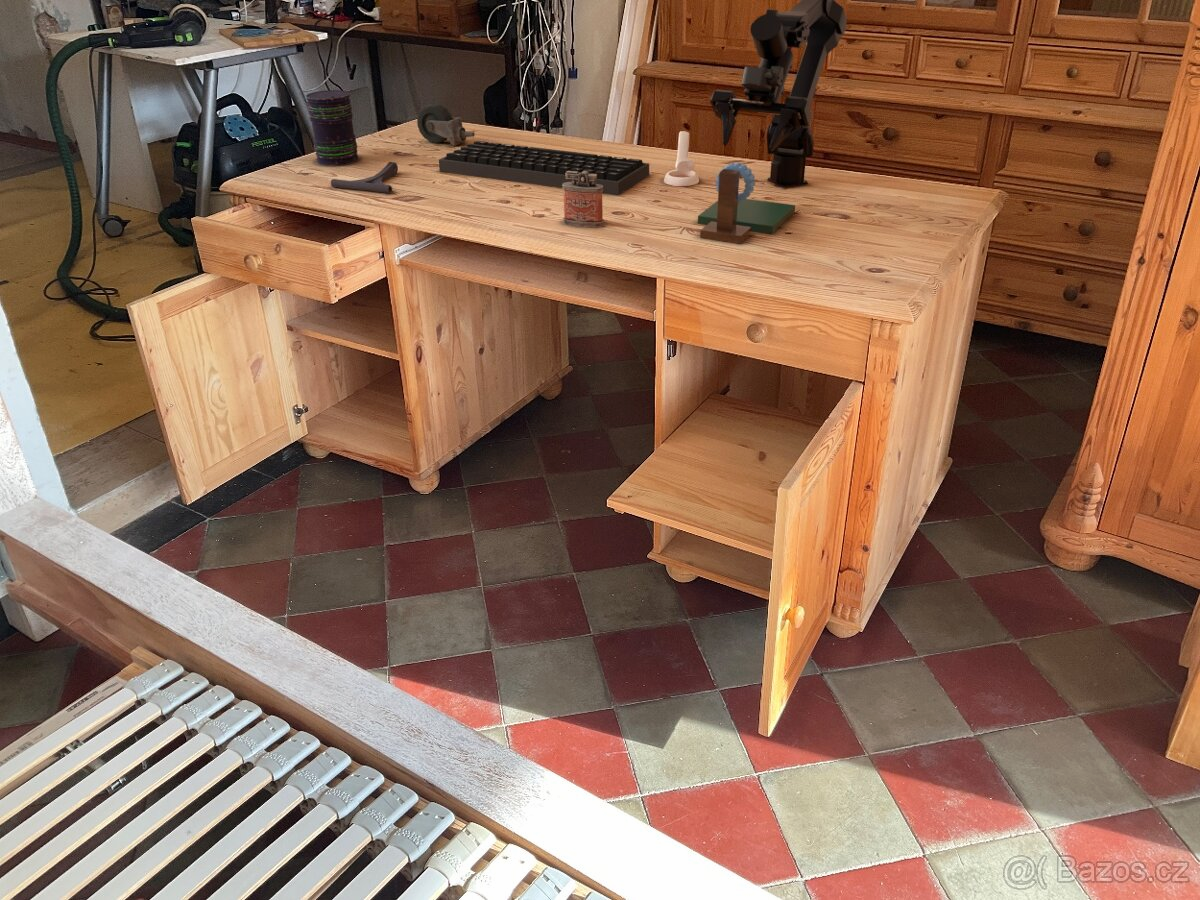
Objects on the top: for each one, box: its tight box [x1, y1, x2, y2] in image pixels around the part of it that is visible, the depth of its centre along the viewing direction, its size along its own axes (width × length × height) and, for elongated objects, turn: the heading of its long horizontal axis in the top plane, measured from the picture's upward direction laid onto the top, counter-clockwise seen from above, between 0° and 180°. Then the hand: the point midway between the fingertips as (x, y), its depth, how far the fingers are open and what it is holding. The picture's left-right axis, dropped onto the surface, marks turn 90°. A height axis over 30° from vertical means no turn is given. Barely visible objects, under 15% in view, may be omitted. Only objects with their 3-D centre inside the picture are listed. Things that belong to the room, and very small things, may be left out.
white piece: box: [663, 130, 700, 187], centre depth 212 cm, size 8×12×7 cm
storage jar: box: [305, 89, 359, 167], centre depth 227 cm, size 10×10×15 cm
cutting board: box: [697, 198, 796, 235], centre depth 190 cm, size 14×15×2 cm
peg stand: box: [699, 168, 752, 245], centre depth 180 cm, size 10×8×12 cm
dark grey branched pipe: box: [330, 161, 399, 194], centre depth 214 cm, size 14×15×3 cm
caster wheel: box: [416, 103, 476, 147], centre depth 240 cm, size 6×10×15 cm
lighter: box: [561, 171, 605, 228], centre depth 186 cm, size 8×3×10 cm, turn 71°
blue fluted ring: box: [714, 162, 756, 203], centre depth 179 cm, size 2×7×7 cm, turn 63°
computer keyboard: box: [438, 140, 650, 196], centre depth 217 cm, size 45×16×4 cm, turn 64°
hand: (747, 147), depth 183 cm, fingers open, 9 cm apart
